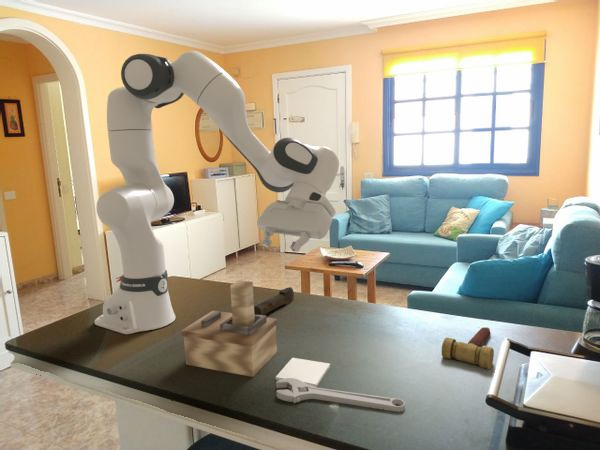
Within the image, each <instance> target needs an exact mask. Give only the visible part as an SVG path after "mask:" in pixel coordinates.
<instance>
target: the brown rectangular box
mask: <svg viewBox="0 0 600 450" xmlns="http://www.w3.org/2000/svg"><path fill="white" fill-rule="evenodd" d="M254 316H255V323H253V324H252V325H251V326H250V327H246V326H239V325H233V321H232V312H227V311H225V312H224V311H217V310H211V311H210V312H208V313H207V314H204V316H202V317H200V318H199V319H197V320H196V321H194V322H192V323H191V324H190V325H188V326H186V327H185V328H182V329H181V330H180V331H181V332H180V333H181V336H182V337H183V342H184V343H183V344H184V355H185V356H184V357H185V365H187V366H192V367H197V368H203V369H208V370H214V371H218V372H225V373H230V374H235V375H241V376H245V377H246V376H247V377H255V375H257V374H258V373H259V372H260V370H262V369H263V367H264V366H265V365H266V364H267V363H268V362H269V361H270V360H271V359H272V358H273V357H274V356H275V355H276V354H277V353H278V343H277V325H278V318H275V317H274V318H273V317H267V315H264V316H263V315H255V314H254Z"/></svg>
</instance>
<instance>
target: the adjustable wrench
mask: <svg viewBox="0 0 600 450" xmlns="http://www.w3.org/2000/svg"><path fill="white" fill-rule="evenodd" d="M275 386H276V389H277V390H276V398H277V399H280V400H282V401H284V402H291V403H293V404H296V403H300V402H301V401H305V400H319V401H326V402H333V403H338V404H339V403H340V404H345V405H346V404H347V405H353V406H357V407H364V408H370V407H371V409H377V408H378V409H379V410H383V409H384V411H389V412H390V411H391V412H397V411H398V412H397V413H399V412H400V411H401V412H404V411H405V410H406V403H405V401H404V400H403V399H401V398H395V397H388V396H380V395H373V394H366V393H359V392H351V391H344V390H337V389H331V388H323V387H318V386H317V387H314V386H311V385H308V384H306V383H304V382H302V381H300V380H298V379H294V378H284V379H280V380H276V382H275ZM284 388H286V389H284ZM287 388H288V389H287ZM397 404H398V405H397Z"/></svg>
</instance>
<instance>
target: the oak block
mask: <svg viewBox="0 0 600 450" xmlns="http://www.w3.org/2000/svg"><path fill="white" fill-rule="evenodd" d="M253 283H254V282H253V281H247V280H237V281H235V282H234V283H232V284H230V285H229V286H230V300H231V301H230V303H231V313H232V321H233V325H239V326H246V327H250V326H251V325H252V324H253V323H255V316H254V306H255V300H254V298H255V297H254V284H253Z"/></svg>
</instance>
